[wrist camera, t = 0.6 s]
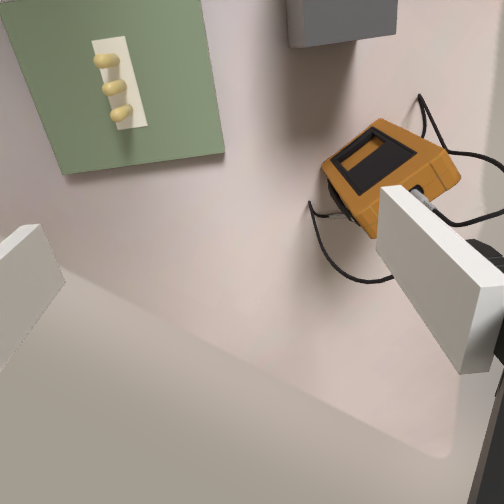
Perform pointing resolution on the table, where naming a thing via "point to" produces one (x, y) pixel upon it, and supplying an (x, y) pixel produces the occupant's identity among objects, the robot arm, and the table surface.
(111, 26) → the board
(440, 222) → the robot arm
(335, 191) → the multimeter
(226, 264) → the table surface
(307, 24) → the block
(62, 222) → the table surface
